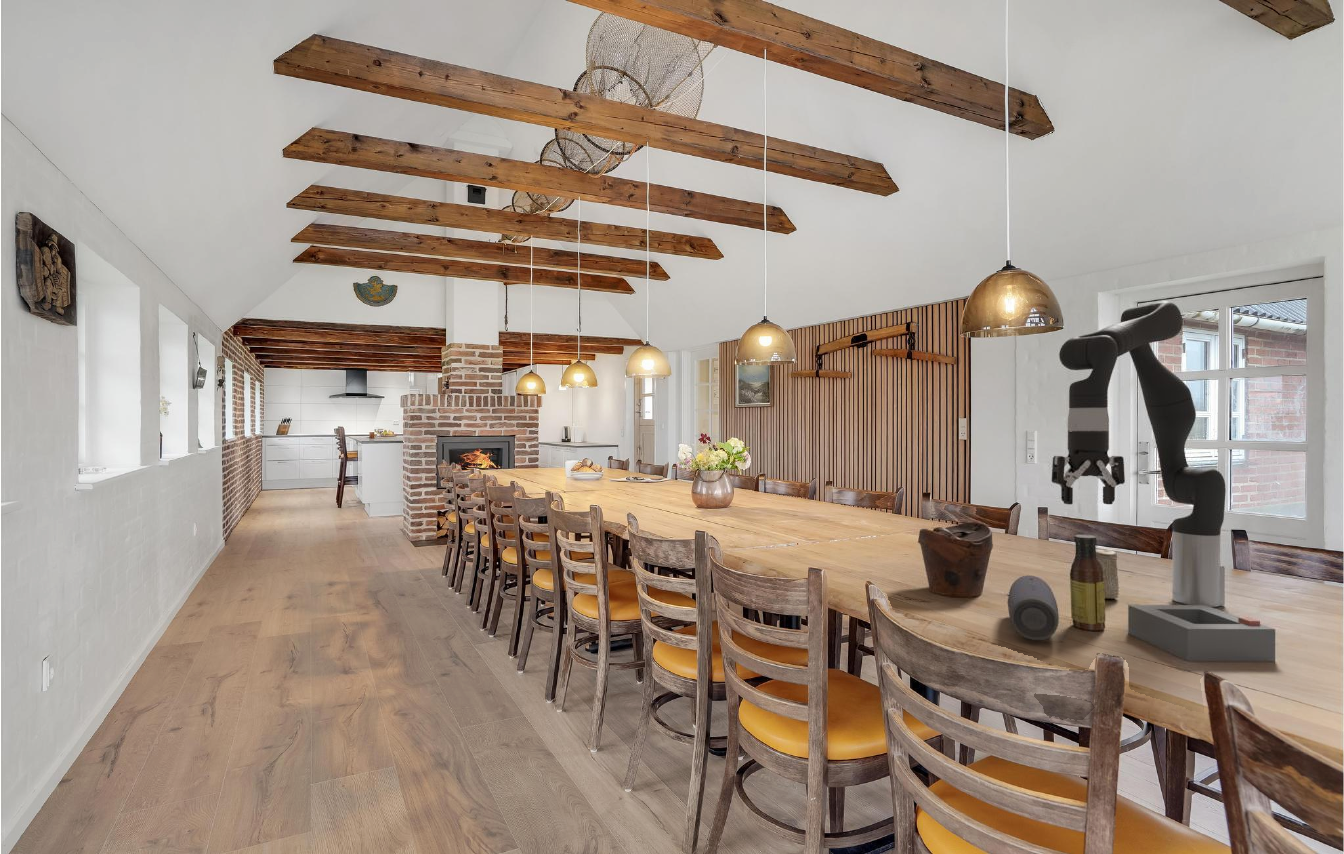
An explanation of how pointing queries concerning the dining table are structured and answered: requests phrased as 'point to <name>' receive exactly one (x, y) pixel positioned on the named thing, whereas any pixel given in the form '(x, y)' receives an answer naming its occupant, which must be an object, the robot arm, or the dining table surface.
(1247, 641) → the bottle socket block
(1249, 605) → the dining table surface
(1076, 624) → the sauce bottle
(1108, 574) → the carving
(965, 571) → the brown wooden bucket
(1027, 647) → the dining table surface
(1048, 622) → the bluetooth speaker
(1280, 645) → the dining table surface
